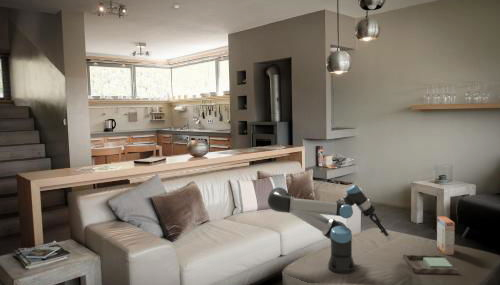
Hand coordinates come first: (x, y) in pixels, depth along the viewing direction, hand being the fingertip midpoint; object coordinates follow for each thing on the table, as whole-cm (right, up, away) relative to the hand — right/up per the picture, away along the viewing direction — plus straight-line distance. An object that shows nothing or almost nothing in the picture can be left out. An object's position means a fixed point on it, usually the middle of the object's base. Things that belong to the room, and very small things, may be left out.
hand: (387, 235), depth 233 cm
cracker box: (+41, -13, +13) cm, 45 cm away
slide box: (+20, -16, -9) cm, 27 cm away
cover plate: (+25, -15, -10) cm, 31 cm away
